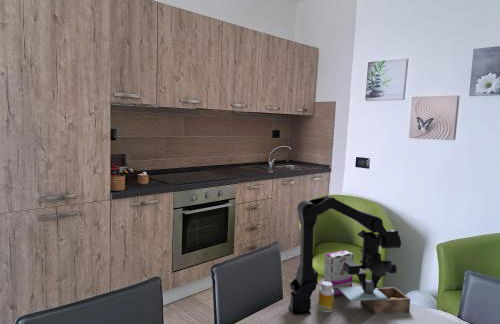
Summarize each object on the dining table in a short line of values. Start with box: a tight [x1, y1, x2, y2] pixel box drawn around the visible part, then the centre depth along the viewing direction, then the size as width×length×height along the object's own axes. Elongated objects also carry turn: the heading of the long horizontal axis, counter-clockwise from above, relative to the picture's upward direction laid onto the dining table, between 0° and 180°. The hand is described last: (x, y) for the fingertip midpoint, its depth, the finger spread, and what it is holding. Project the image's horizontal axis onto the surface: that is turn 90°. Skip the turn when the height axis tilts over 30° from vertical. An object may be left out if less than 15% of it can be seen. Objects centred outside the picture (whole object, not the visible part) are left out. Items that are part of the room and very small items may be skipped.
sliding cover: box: [338, 279, 387, 302], centre depth 130 cm, size 14×10×5 cm
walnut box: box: [360, 286, 411, 315], centre depth 131 cm, size 14×10×5 cm
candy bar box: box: [323, 250, 354, 298], centre depth 142 cm, size 11×5×16 cm, turn 117°
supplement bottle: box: [317, 280, 335, 313], centre depth 128 cm, size 5×5×10 cm
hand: (368, 289), depth 130 cm, fingers closed on sliding cover, 3 cm apart
